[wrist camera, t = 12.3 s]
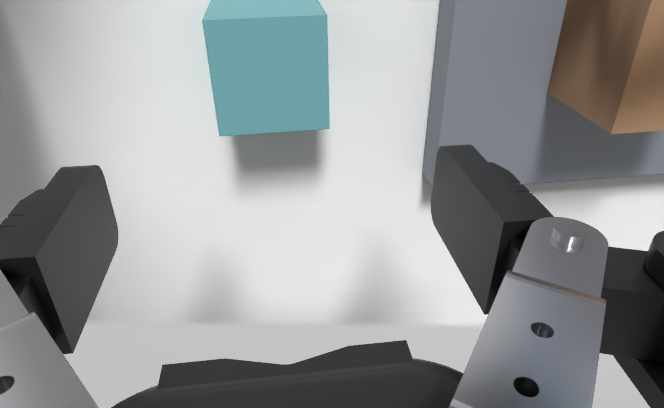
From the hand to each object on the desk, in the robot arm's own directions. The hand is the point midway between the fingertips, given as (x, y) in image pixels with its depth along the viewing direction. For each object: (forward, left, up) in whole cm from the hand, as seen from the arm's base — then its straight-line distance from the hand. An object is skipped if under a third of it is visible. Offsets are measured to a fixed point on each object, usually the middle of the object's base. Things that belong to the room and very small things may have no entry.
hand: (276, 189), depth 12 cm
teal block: (0, 0, -13) cm, 13 cm away
